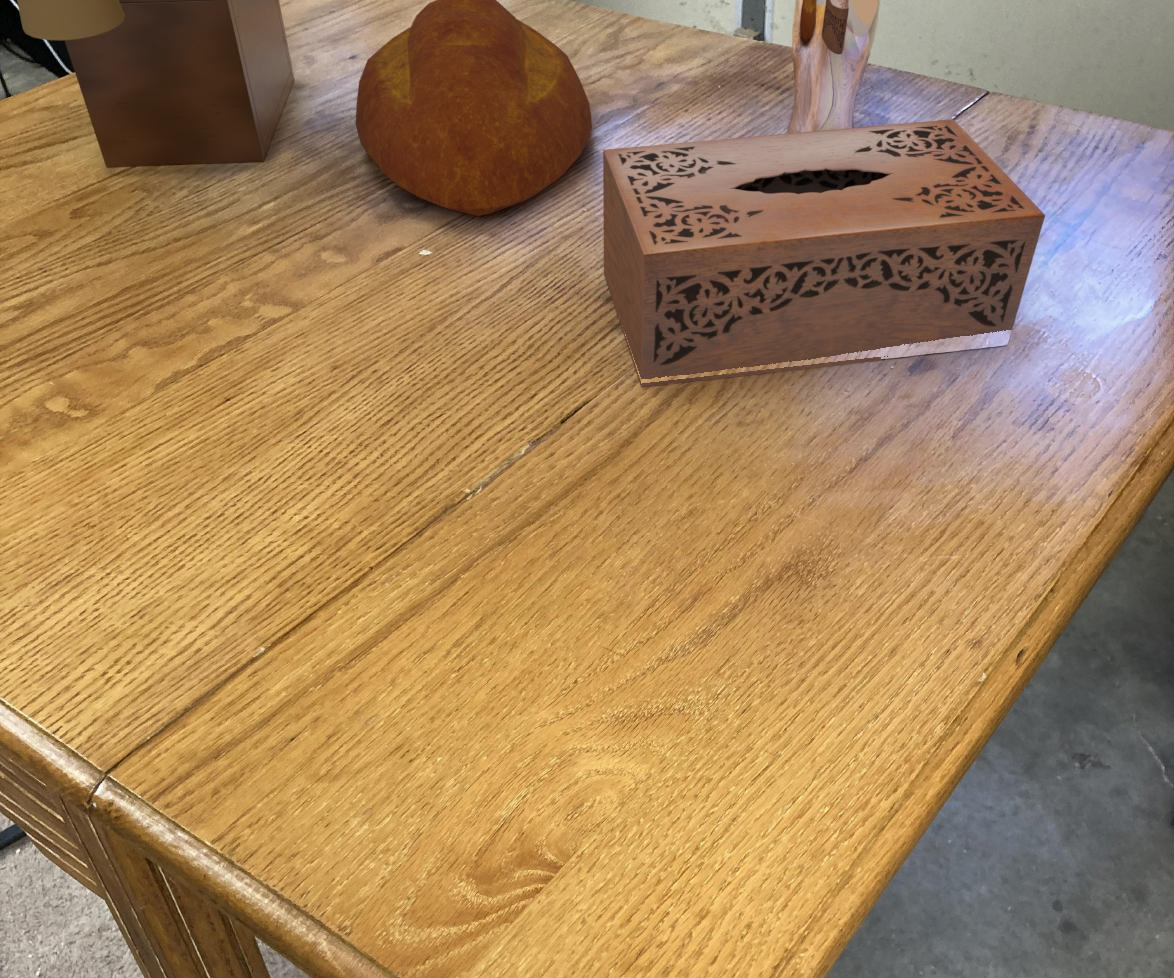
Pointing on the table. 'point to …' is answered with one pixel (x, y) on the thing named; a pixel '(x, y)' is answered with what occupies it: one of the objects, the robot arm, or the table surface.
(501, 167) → the bread
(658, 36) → the table surface
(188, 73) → the bronze square pillar
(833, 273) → the tissue box cover
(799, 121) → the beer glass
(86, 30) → the cork
